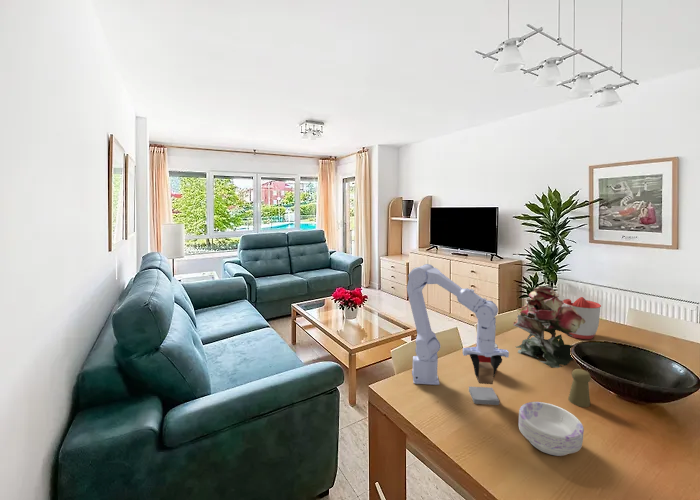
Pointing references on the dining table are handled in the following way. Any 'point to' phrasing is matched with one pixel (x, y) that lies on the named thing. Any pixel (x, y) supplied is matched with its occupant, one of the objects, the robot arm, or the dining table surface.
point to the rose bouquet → (547, 326)
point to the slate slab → (483, 395)
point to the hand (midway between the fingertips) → (484, 375)
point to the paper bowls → (550, 428)
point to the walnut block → (485, 373)
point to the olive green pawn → (580, 388)
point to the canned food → (485, 359)
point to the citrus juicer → (586, 317)
